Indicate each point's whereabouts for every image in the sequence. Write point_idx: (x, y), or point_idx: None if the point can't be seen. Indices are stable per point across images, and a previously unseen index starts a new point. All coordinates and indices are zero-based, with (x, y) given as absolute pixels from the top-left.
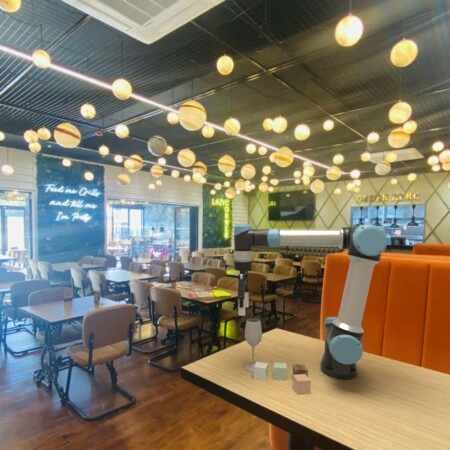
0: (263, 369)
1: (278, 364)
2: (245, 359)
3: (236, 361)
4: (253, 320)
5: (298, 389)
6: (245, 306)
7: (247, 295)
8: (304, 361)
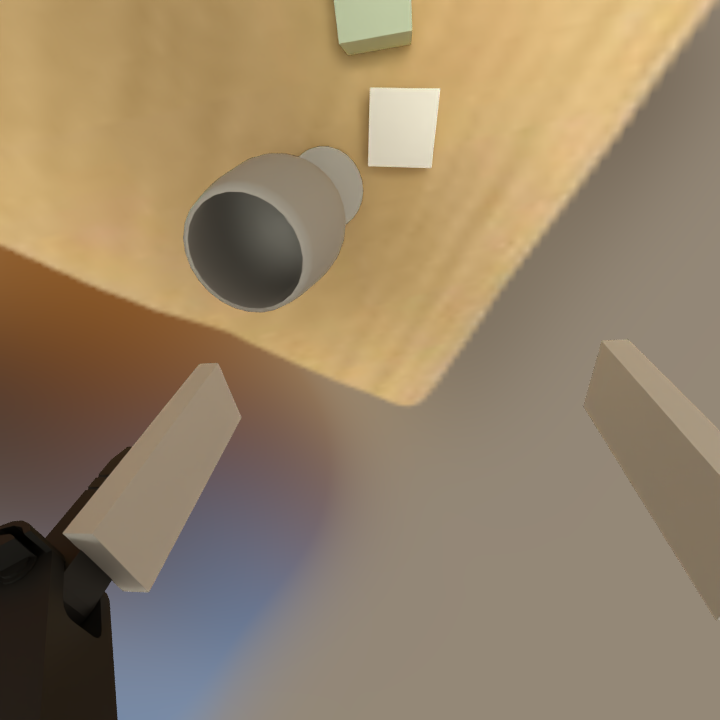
0: (438, 104)
1: (363, 4)
2: None
3: None
4: (199, 260)
5: None
6: (228, 395)
7: (136, 492)
8: None
